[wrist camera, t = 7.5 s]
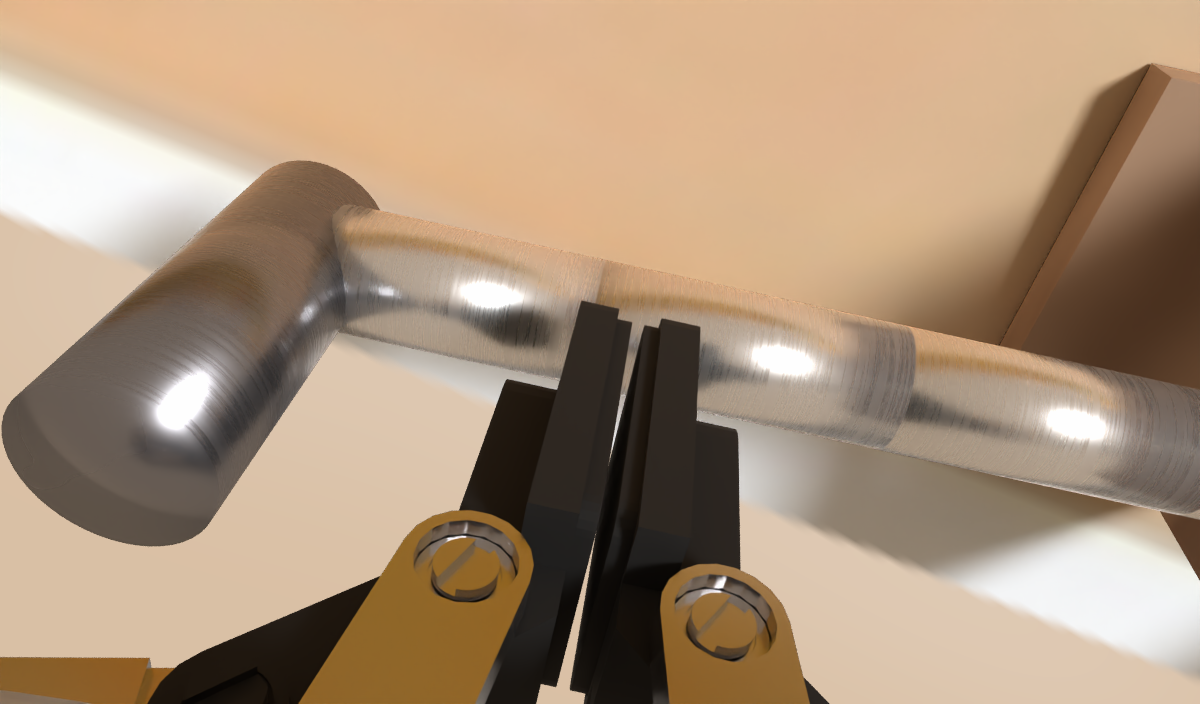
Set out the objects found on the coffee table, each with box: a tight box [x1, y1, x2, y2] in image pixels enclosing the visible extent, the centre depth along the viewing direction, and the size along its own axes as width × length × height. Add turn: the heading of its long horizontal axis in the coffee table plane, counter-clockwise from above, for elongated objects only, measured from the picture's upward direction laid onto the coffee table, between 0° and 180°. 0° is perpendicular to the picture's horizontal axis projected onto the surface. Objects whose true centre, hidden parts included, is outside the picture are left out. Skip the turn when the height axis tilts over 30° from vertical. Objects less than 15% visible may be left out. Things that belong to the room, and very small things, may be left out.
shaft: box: [2, 161, 1200, 546], centre depth 12 cm, size 20×2×6 cm, turn 80°
